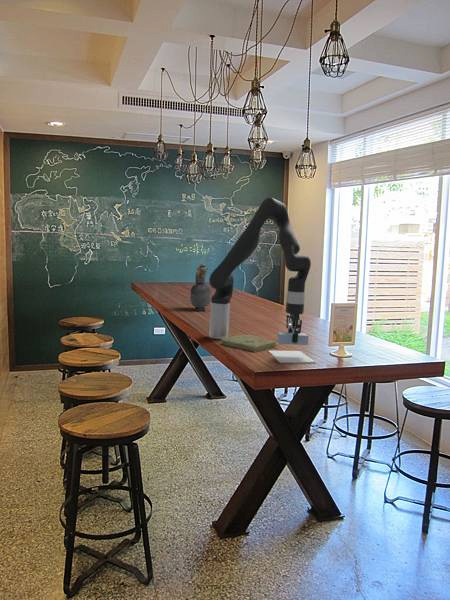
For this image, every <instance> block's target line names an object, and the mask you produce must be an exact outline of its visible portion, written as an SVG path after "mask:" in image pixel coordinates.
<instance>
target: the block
mask: <svg viewBox="0 0 450 600" xmlns="http://www.w3.org/2000/svg"><path fill="white" fill-rule="evenodd" d="M292 336H293V333H288V332H282V331H281V332H280V331H278V332H277V341H276V342H278V344H279V345H296V346H298V345H299V346H308V345H309V335H308V334H307V333H306V332H301V333H299V334H298V342H297V343H293V342H292Z"/></svg>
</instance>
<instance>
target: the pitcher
mask: <svg viewBox="0 0 450 600" xmlns="http://www.w3.org/2000/svg"><path fill="white" fill-rule="evenodd" d="M208 269H209V268H208V267H206V266H205V265H204V264H201V263H199V267H196V273H195V277H194V278H195V284H193V285H192V287H191V288H190V294H189V295H190V303H191V305H192V306H193V309H194V311H198V312H199V311H200V312H201V311H202V312H204V311H206V307H208V306H209V305H211V298H212V296H211V295H212V293H211V289H210V287H209V285H207V284H206V277H207V276H206V275H207V273H206V272H207V270H208Z"/></svg>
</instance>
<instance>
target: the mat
mask: <svg viewBox="0 0 450 600" xmlns="http://www.w3.org/2000/svg"><path fill="white" fill-rule="evenodd" d="M267 350H268V351H267V352H268V353H269V354H270V355H271V356H272V357H273V358H274V359H275V360H277V361H278V362H279V363H281V364H283V363H284V364H294V363H295V364H316V361H315V360H313V359H312V358H311V357H310V356H308V355H307V354H306V353H304V352H303V351H301V350H270V349H267Z"/></svg>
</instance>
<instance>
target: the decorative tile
mask: <svg viewBox="0 0 450 600" xmlns="http://www.w3.org/2000/svg"><path fill="white" fill-rule="evenodd" d="M220 340H221V341H220V344H221V345H223V346H228V347H231V348H235V347H236V349H240V350H244V349H245V350H244V351H248V350H249V352H252V351H253V352H254V353H257V352H258V351H259V352H262V350H263V351H265V350H270V349H274V348H277V344H276V341H275V340H270V339H265V338H263V337H260V336H259V335H251V334H240V335H233V336H230V337H229V336H228V337H227V338H225V339H220Z"/></svg>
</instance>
